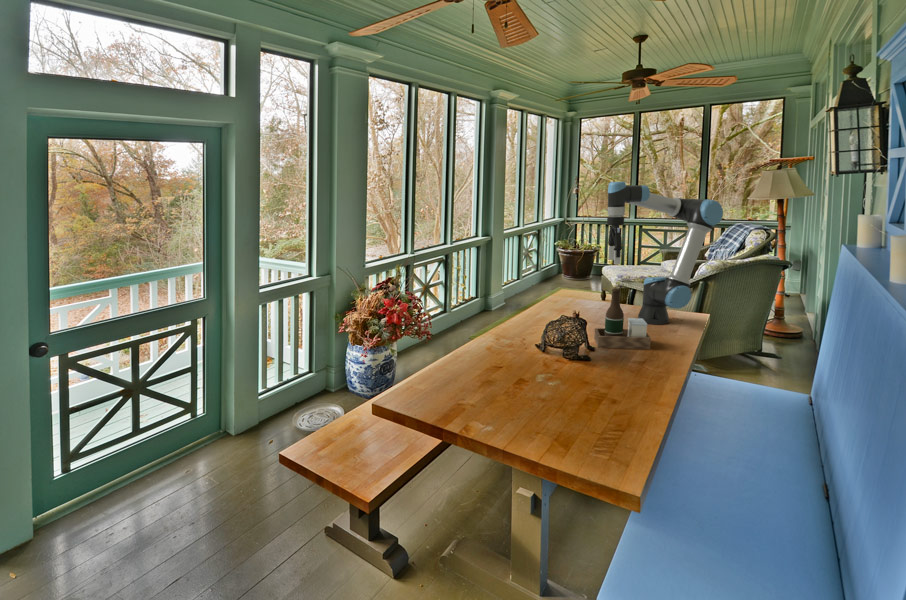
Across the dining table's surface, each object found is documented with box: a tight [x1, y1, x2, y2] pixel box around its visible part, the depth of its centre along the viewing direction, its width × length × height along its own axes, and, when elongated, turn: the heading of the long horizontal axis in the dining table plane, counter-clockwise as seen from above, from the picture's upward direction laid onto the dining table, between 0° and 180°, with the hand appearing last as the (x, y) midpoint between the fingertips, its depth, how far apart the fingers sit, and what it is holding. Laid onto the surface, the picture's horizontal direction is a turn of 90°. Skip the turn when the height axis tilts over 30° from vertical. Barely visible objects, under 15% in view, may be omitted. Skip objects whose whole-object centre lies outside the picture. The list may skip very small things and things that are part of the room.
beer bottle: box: [604, 287, 625, 337], centre depth 243 cm, size 8×8×24 cm
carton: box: [627, 317, 649, 337], centre depth 243 cm, size 6×10×10 cm, turn 172°
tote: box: [593, 327, 652, 350], centre depth 244 cm, size 22×14×5 cm, turn 82°
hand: (614, 262), depth 255 cm, fingers open, 13 cm apart
